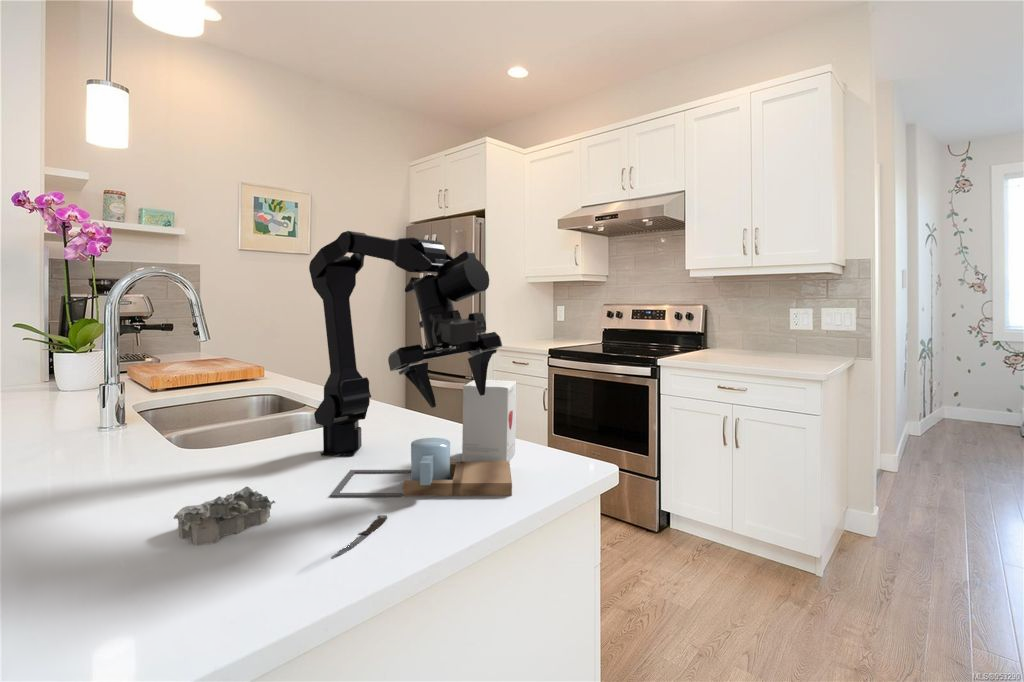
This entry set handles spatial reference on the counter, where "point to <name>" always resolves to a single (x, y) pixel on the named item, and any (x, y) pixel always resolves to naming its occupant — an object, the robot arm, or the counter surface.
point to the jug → (430, 460)
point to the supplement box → (489, 421)
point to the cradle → (467, 480)
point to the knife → (363, 535)
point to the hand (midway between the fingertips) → (458, 401)
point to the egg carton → (223, 516)
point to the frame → (345, 480)
